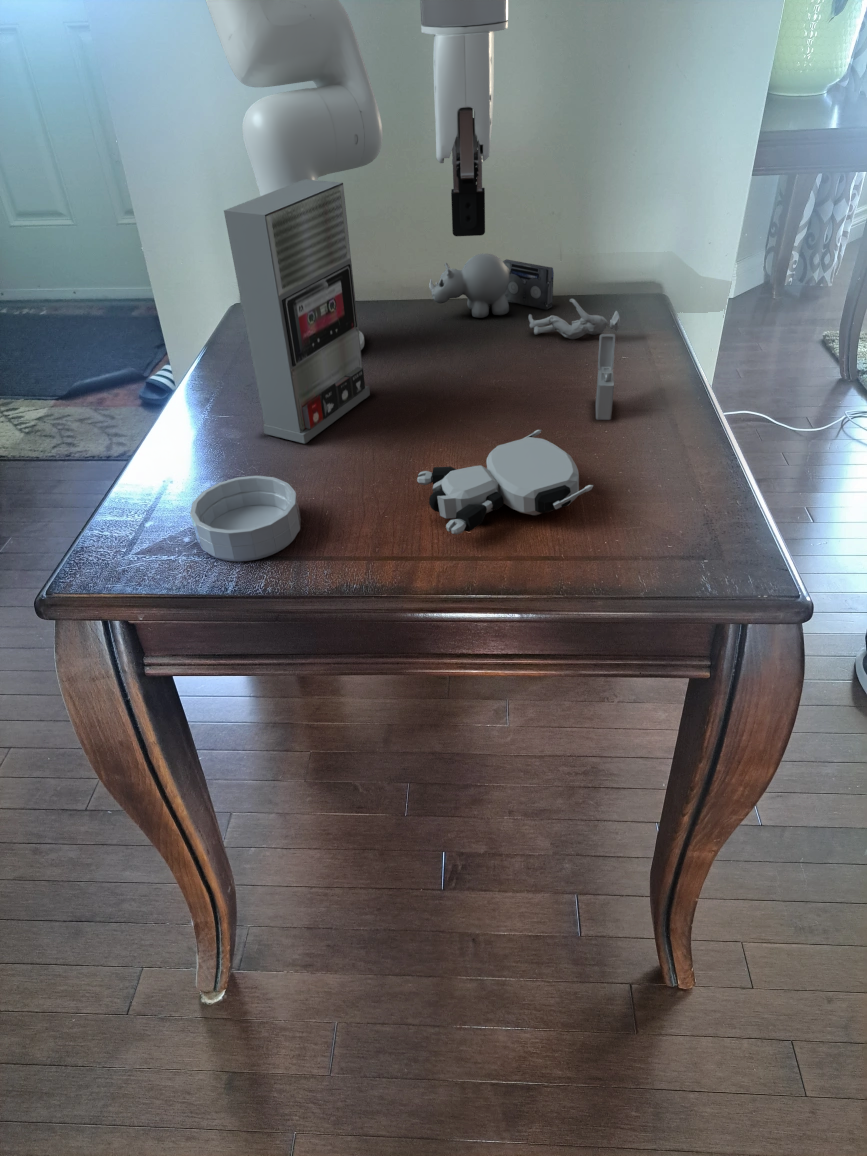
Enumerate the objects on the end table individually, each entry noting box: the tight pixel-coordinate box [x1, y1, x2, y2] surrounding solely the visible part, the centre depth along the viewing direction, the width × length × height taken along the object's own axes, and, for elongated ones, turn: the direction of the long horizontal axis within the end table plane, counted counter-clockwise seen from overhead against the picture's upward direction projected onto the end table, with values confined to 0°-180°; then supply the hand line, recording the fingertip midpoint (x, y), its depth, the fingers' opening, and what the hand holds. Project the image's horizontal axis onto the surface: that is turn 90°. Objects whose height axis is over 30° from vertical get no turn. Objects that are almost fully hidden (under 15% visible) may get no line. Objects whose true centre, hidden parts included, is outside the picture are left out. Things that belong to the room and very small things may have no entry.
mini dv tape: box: [502, 258, 555, 311], centre depth 126 cm, size 8×2×6 cm, turn 52°
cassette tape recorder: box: [223, 179, 371, 445], centre depth 93 cm, size 14×6×25 cm, turn 151°
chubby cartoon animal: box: [428, 252, 510, 319], centre depth 123 cm, size 7×12×8 cm, turn 97°
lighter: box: [594, 333, 616, 421], centre depth 97 cm, size 7×2×8 cm, turn 172°
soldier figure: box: [527, 298, 621, 340], centre depth 115 cm, size 8×5×12 cm
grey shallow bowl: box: [189, 475, 302, 562], centre depth 81 cm, size 10×10×4 cm
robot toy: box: [416, 429, 594, 535], centre depth 82 cm, size 12×4×15 cm
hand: (468, 233), depth 82 cm, fingers closed
